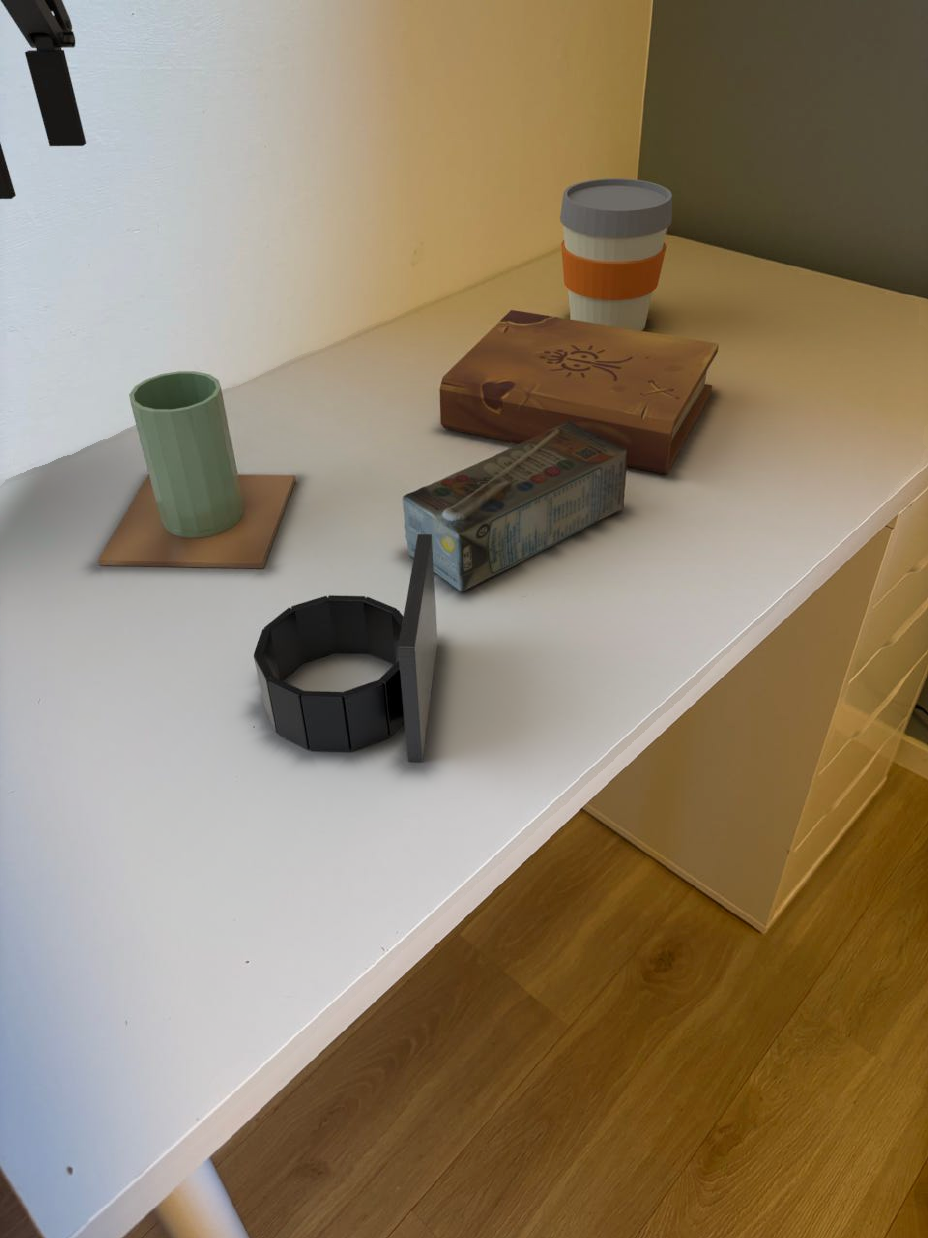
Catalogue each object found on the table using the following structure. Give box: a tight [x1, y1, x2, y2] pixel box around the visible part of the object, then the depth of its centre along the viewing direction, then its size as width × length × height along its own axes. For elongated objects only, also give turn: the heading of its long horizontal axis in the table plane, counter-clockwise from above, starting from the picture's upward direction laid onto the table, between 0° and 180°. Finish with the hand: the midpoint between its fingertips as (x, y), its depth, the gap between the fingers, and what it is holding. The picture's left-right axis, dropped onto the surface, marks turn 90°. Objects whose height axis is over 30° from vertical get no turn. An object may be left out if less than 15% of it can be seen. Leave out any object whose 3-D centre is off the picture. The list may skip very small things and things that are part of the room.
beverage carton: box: [402, 421, 628, 592], centre depth 84 cm, size 8×19×7 cm, turn 129°
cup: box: [128, 370, 244, 538], centre depth 84 cm, size 7×7×12 cm
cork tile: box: [97, 473, 296, 569], centre depth 88 cm, size 14×14×1 cm
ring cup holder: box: [253, 534, 438, 763], centre depth 67 cm, size 12×12×10 cm
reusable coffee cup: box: [559, 177, 673, 331], centre depth 115 cm, size 13×12×15 cm
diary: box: [439, 309, 720, 475], centre depth 101 cm, size 23×19×6 cm
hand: (34, 169), depth 73 cm, fingers open, 13 cm apart
